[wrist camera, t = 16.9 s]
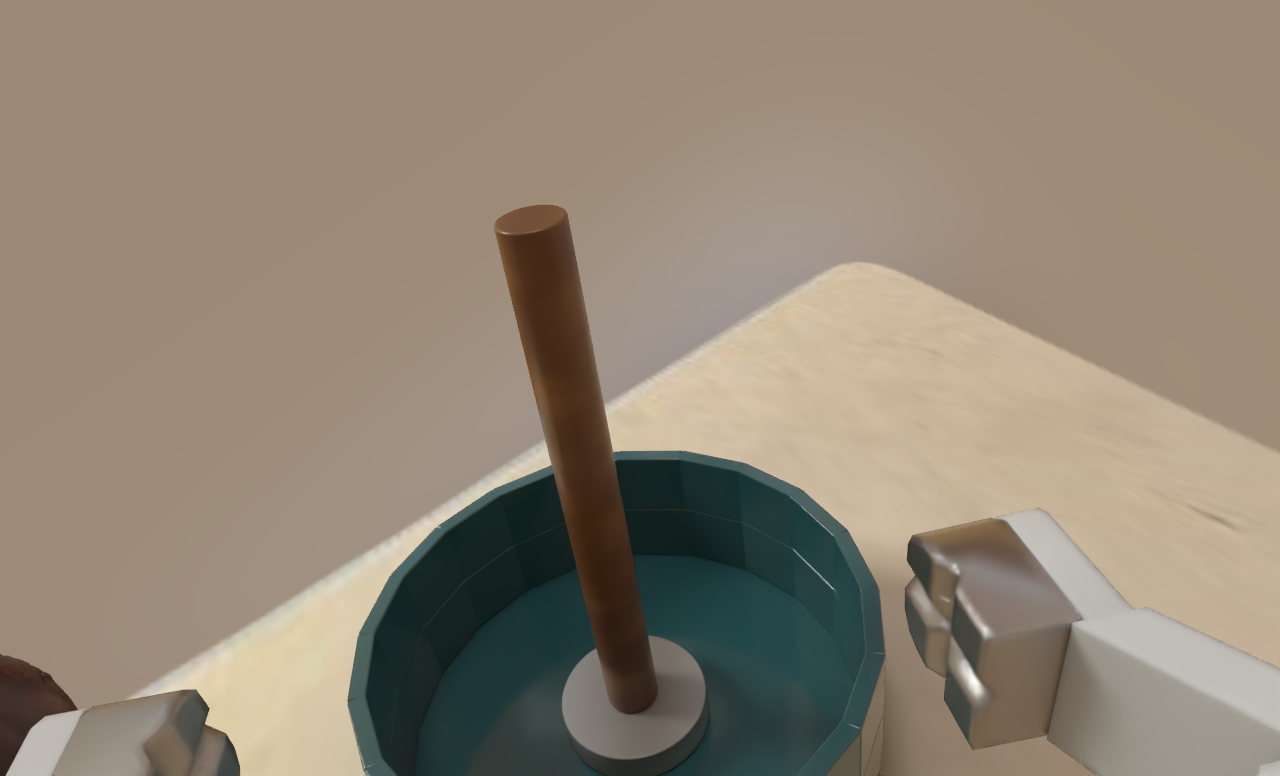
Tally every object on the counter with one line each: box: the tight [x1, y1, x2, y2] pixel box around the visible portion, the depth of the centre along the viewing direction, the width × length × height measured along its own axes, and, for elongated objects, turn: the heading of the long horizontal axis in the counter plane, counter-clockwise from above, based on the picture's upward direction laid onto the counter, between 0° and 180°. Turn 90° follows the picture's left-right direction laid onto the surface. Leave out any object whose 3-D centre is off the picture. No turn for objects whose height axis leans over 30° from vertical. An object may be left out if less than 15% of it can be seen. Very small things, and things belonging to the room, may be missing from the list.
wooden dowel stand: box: [494, 205, 709, 776], centre depth 26 cm, size 5×5×19 cm
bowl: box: [347, 451, 886, 776], centre depth 30 cm, size 17×17×6 cm
